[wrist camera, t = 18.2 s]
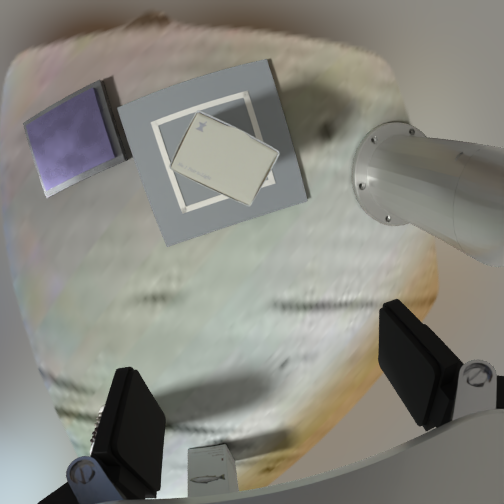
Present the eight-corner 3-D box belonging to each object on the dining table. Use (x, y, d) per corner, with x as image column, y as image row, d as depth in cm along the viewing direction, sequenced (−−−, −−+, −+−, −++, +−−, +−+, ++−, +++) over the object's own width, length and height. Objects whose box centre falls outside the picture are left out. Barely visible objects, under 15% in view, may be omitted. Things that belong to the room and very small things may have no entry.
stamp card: (265, 60, 28) (266, 58, 27) (306, 199, 34) (307, 201, 33) (118, 108, 28) (116, 107, 27) (167, 245, 34) (166, 247, 33)
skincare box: (180, 157, 30) (162, 169, 19) (200, 118, 29) (194, 106, 18) (235, 184, 32) (249, 211, 21) (256, 146, 31) (282, 151, 19)
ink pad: (103, 81, 26) (97, 78, 25) (127, 159, 30) (123, 161, 28) (28, 123, 26) (19, 123, 25) (51, 195, 30) (43, 199, 28)
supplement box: (226, 442, 48) (232, 502, 36) (235, 461, 50) (242, 515, 39) (186, 447, 47) (186, 506, 35) (199, 466, 50) (201, 519, 38)
